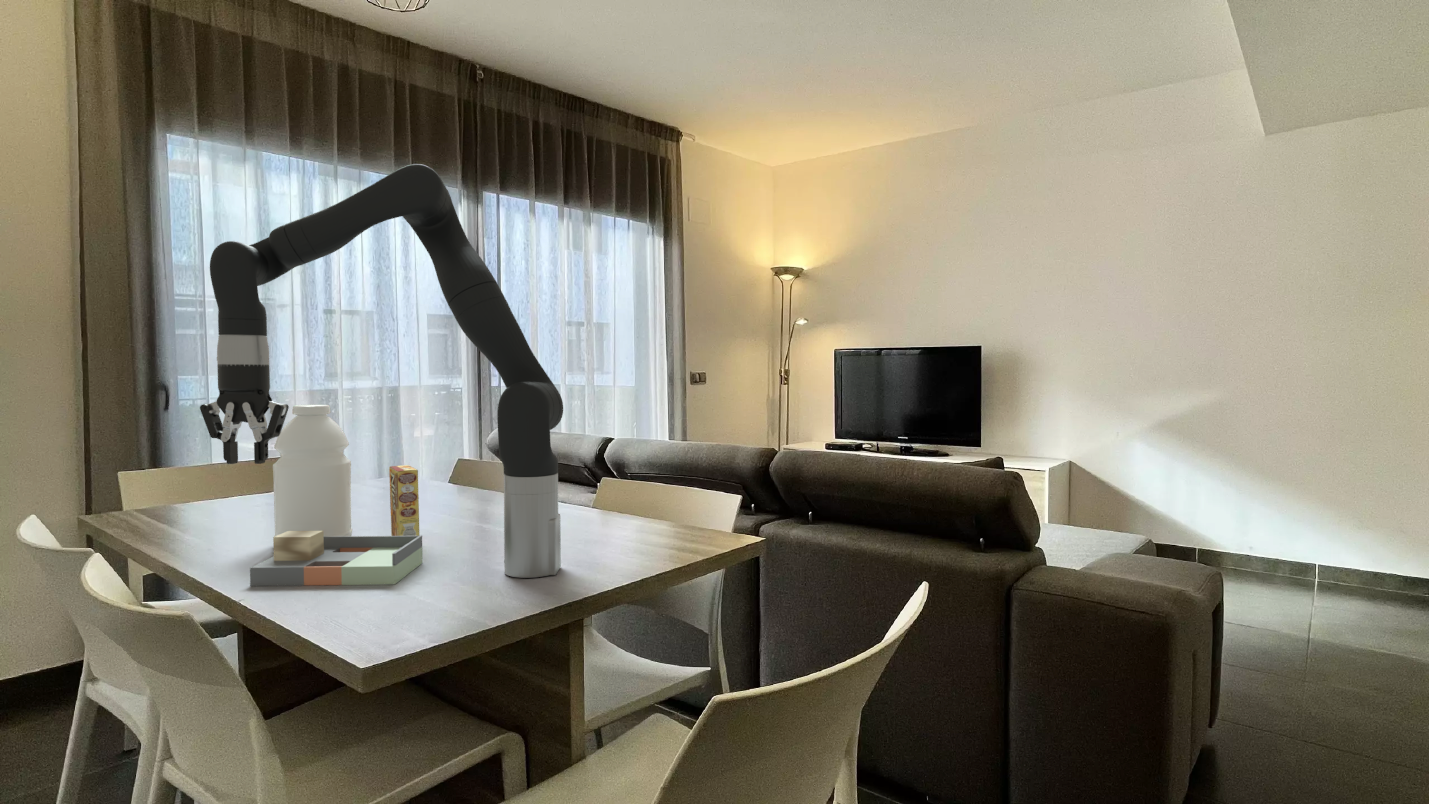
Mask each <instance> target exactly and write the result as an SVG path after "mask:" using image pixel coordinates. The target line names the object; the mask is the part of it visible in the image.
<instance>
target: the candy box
mask: <svg viewBox="0 0 1429 804" xmlns="http://www.w3.org/2000/svg"><path fill="white" fill-rule="evenodd" d="M388 470H389V473H388V475H389V501H390V502H389V503H390V505H389V506H390V507H389V508H390V510H389V511H390V529H391V530H390V532H391V534H390V536H421V535H420V508H419V506H420V503H419V499H420V497H419V469H418V468H415V467H413V466H411V465H410V464H407V465H406V464H405V465H391V466H389V469H388Z"/></svg>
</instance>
